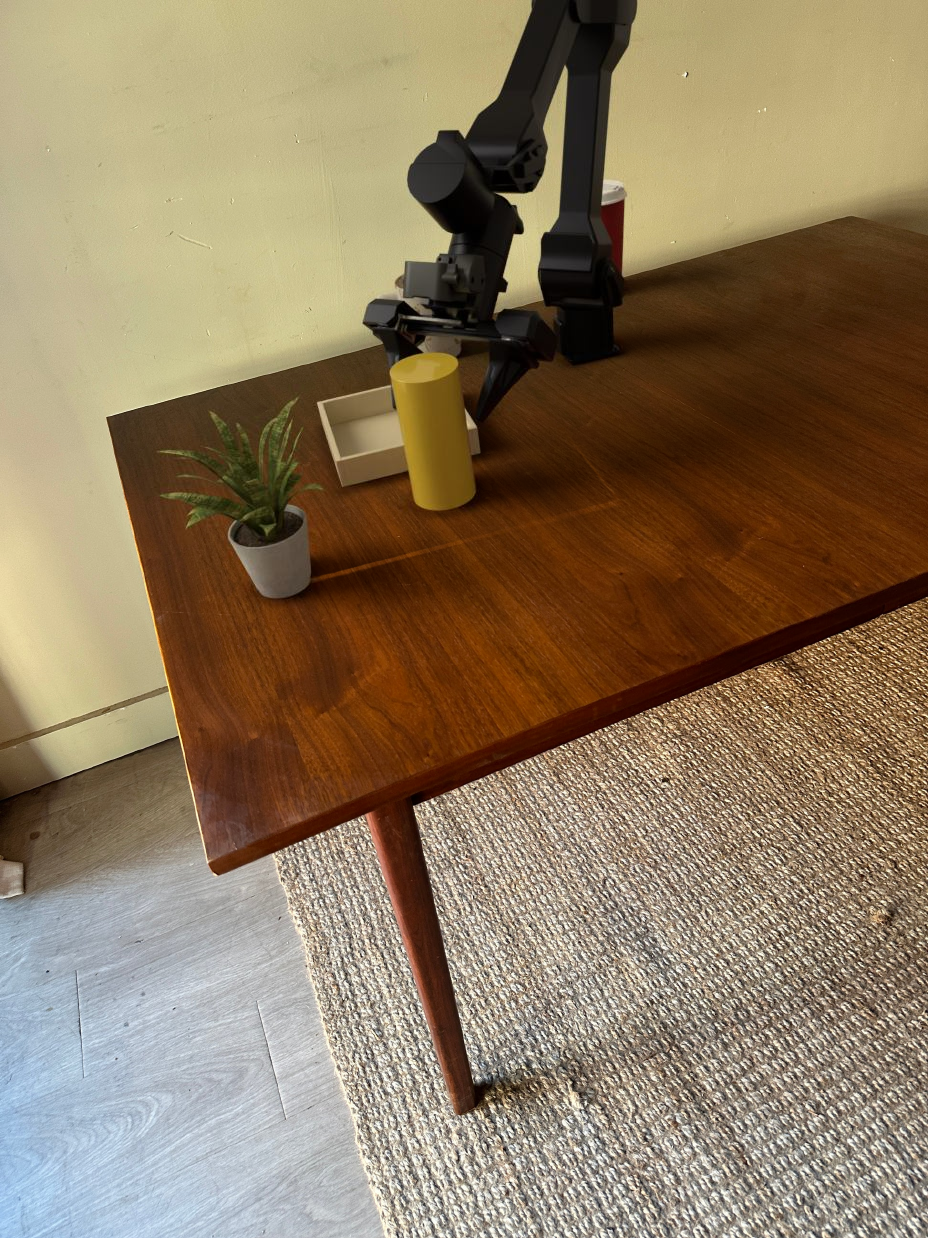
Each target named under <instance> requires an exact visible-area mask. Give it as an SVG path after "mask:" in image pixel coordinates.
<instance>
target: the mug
mask: <svg viewBox="0 0 928 1238" xmlns="http://www.w3.org/2000/svg"><path fill="white" fill-rule="evenodd" d="M403 286H404V273H402V274H401V275H399V276H398V277H397V278H396V279H395V281H394V290H395V291H386V292H383V293H381V294H379V295H378V296H377V297H376V298H377V299H389V300H402V301H405V302H406V303H407V304H409V305H410V306H411V307H412V308H413V309H414V310H416V311H417V312H418V313H419V314H421V315H432V312H433V311H431V310H430V309H425V308H424V307H423V306H422V305H421V304H420V303H421V299H422V298H417V297H414V298H413V299H411V298H409V299H407V298H403ZM443 327H445V326H443ZM445 328H447V327H445ZM450 328H451V327H450ZM418 348H419V349H420V350H422V351H423V352H424V353H445V354H449V355H452V356H454V357H455V358H457V357H458V356H459V355H460V354H461V351H462V339H456V338H445V337H435V336H426V338H425V341H424V342H423V343H422V344H421V345H419V346H418Z"/></svg>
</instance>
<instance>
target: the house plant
mask: <svg viewBox="0 0 928 1238" xmlns="http://www.w3.org/2000/svg"><path fill="white" fill-rule="evenodd" d="M299 397H300V396H297V397H295V398H293V399H292V400H291V401H289V402H288V403H287V404H286V405H284V407H282V409H281V410H280V412H279V413H278V415H277V416H276V417H275V418H273V419H271V420H270V421H269V422H268V423H267V424H266V425H265V427H264V428H263V429H262V432H261V435H260V439H259V443H258V445H259V446H258V464H257V460H256V458H255V455H254V452H253V449H252V445H251V442H250V439H249V436H248V434H247V432H246V431H245V429H244V428H243V427H242V425H241V424H240V423H239V422H237V421H235V424H236V425H235V426H236V428H237V432H238V434H239V437H240V439H241V451H240V449H239V447H238V445H237V443H236V440H235V438H234V436H233V434H232V432H231V430H230V428H229V426H228V425H227V424H226V422H224V421H223V420H222V419H221V418H220V417H219V416H218V415H217V414H216V413H215V412H212V411H210V410H208V413H209V415H210V417H211V419H212V420H213V421H212V422H214V425H215V426H216V429H217V430H218V433H219V434H220V437H221V439H222V442H223V444H224V447H225V449H226V452H227V454H225V453H224V452H222V451H220V450H218V449H215V448H211V447H208V446H204V445H200V444H196V443H195V444H196V445H197V446H199V447H201V448H205V449H208V450H210V451H212V452H214V453H215V454H217V455H218V456H219V457H220V458H222V459H223V460H224V461H225V462H226V463H227V464H228V468H229V469H228V468H226V467H225V465H222V464H221V463H220V462H218V461H217V460H216V459H213V458H212V457H210V456H208V455H206V454H203V453H201V452H198V451H194V450H185V449H163V450H157V451H154V452H155V453H162V454H174V455H181V456H183V457H175V458H173V459H175V460H176V459H177V460H180V459H181V460H182V459H183V460H190V461H193V462H197V463H198V464H200V465H202V466H203V467H205V468H207V469H208V470H209V471H210V472H212V474H214V475H215V476H216V477H217V478H218V479H219V480H216V482H215V481H214V480H211V479H209V478H206V477H203V476H200V475H195V474H180V475H177V476H176V478H196V479H200V480H201V479H202V480H205V481H208V482H211V483H213V484H216V485H218V486H220V487H223V488H224V489H226V490H227V491H229V492H230V493H232V494H233V495H234V496H236V498H238V499H240V500H241V501H242V502H244V503H245V504H246V505H245V504H243V503H241V502H238V501H235V500H233V499H230V498H228V497H222V496H217V495H210V494H202V493H195V492H180V491H179V492H176V491H175V492H168V493H161V494H158V495H156V497H160V498H161V497H162V498H164V499H168V500H177V501H182V502H183V503H186V504H189V505H192V506H194V508H193V509H191V511H190V512H189V513H187V516H186V519H187V518H188V516H189V515H191V516H190V518H189V519H188V522H187V523H186V526H185V530H187V529H188V527H190V526H192V525H194V524H196V523H197V522H200V521H202V520H204V519H206V518H208V517H211V516H215V515H223V516H226V517H228V518H230V519H232V520H234V521H233V522H232V524H231V525H230V526H229V528H228V531H227V537H228V541H229V542H230V544H231V546H232V548H233V549H234V551H235V553H236V554H237V557H238V558H239V559H240V562H241V563H242V565H243V566H244V568H245V570H246V572H247V574H248V576H249V577H250V579H251V581H252V582H253V584H254V586H255V588H256V590H258V592H259V594H260V595H262V596H263V597H265V598H269V599H285V598H289V597H292V596H294V595H297V594H299V593H301V592H302V591H303V590H305V589H306V588H307V587H308V586H309V584H310V582H311V580H312V579H311V578H312V577H311V575H312V564H311V556H310V555H311V554H310V542H309V529H308V528H309V527H308V518H307V514H306V513H305V511H304V510H303V509H302V508H300V507H298V506H296V505H293V504H289V503H290V501H291V500H292V499H293V497H294V496H296V495H298V494H299V493H301V492H303V491H306V490H313V489H317V490H321V491H323V492H324V493H325V494H326V491H325V489H324V488H323V486H322V484H319V483H310V484H308V485H305V486H304V487H301V488H300V489H298V490H297V491H295V492H294V493H293V494H292V495H291V493H292V491H293V490H294V489H295V487H296V486H297V485H298V483H299V482H300V480H301V478H302V475H303V473H292V472H293V471H294V470H295V468H297V467H298V465H299V464H300V465H302V463H301V462H300V461H296V460H297V458H298V457H299V455H297V456H295V458H293V459H292V456H293V454H294V451H295V449H296V446H297V443H298V441H299V438H300V435H301V433H302V431H303V429H304V426H302V427H301V428H300V431H299V433H298V435H297V436H296V437H295V439H294V442H293V444H292V447H291V449H290V452H289V454H288V457H287V459H286V461H282V459H283V455H284V452H285V450H286V447H287V444H288V440H289V436H290V431H291V428H292V424H293V418H291V421H290V423H289V424H288V426H287V428H286V431H285V433H284V436H283V439H282V443H281V438H282V435H283V430H284V427H285V425H286V423H287V420H288V417H289V414H290V411H291V408H292V407H293V406H294V405H295V404H296V402H297V401H298V399H299ZM271 427H272V428H271ZM270 428H271V429H270ZM269 431H270V434H269V438H268V442H267V443H268V444H267V445H268V446H267V447H268V449H267V450H268V454H267V470H266V474H267V475H266V477H267V478H266V482H267V483H266V484H265V481H264V448H265V443H266V440H267V436H268V433H269ZM280 443H281V446H280ZM279 448H280V449H279ZM184 456H186V457H184ZM291 459H292V460H291ZM216 471H217V472H216ZM218 472H219V473H220V474H221V475H223V476H221V475H220V474H219V473H218ZM220 483H222V484H225V485H226V486H227V487H229V488H230V489H231V490H230V489H229V488H227V487H224V486H223V485H222V484H220Z"/></svg>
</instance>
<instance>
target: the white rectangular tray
mask: <svg viewBox="0 0 928 1238" xmlns="http://www.w3.org/2000/svg"><path fill="white" fill-rule="evenodd" d="M316 405H317V408H318V412H319V417H320V420H321V425H322V428H323V431H324V434H325V437H326V440H327V442H328V446H329V449H330V453H331V456H332V459H333V462H334V465H335V468H336V471H337V475H338V478H339V481H340V484H341V487H342V488H344V487H348V486H353V485H357V484H360V483H365V482H368V481H373V480H376V479H380V478H385V477H388V476H392V475H397V474H401V473H404V472H405V473H406V472H408V467H407V461H406V456H405V451H404V446H403V440H402V435H401V430H400V425H399V419H398V414H397V411H396V410H395V409H393V406H392V394H391V384H388V385H384V386H381V387H376V388H372V389H368V390H364V391H360V392H354V393H350V394H347V395H342V396H338V397H333V398H329V399H325V400H321V401H317V402H316ZM465 413H466V420H467V428H468V435H469V442H470V449H471V456H474V455H478V454H481V447H480V439H479V431H478V427H477V425H476V423H475V421H474V420H473V418H472V417H471V415H470V414H469V412H468V411H467V409H466V408H465Z"/></svg>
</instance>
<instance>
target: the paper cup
mask: <svg viewBox="0 0 928 1238" xmlns="http://www.w3.org/2000/svg"><path fill="white" fill-rule="evenodd" d="M627 196H628V192H627V191H626V190H625V185H624V183H623V181H620V180H616V179H603V192H602V204H601V220H602V222H603V224H604V226H605V229H606V231H607V233H608V235H609V237H610V239H611V241H612V260H613V261H614V263H615V265H616V266H617V268H618V269H619V271H620V273H621V274H622V275H623V263H624V260H623V259H624V238H625V237H624V235H625V233H624V231H625V229H624V228H625V207H626V198H627Z"/></svg>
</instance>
